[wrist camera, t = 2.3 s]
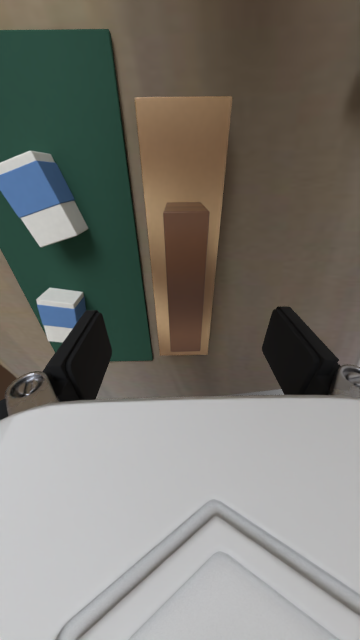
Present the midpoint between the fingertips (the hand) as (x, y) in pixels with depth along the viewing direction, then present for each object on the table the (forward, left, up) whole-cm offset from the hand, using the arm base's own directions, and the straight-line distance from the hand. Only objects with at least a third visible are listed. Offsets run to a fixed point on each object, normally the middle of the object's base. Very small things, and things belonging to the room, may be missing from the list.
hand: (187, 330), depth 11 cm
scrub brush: (-1, 0, -10) cm, 10 cm away
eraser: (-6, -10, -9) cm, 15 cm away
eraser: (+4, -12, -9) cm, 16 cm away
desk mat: (-1, -10, -10) cm, 14 cm away
